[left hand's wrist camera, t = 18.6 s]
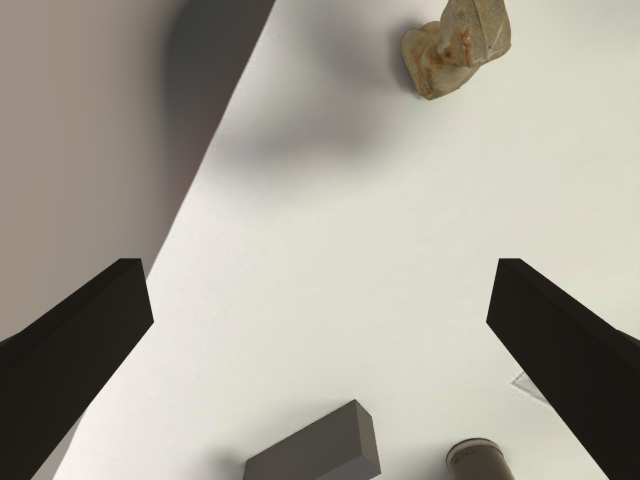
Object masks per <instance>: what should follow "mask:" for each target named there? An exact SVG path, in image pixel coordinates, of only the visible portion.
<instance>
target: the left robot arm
mask: <svg viewBox="0 0 640 480" xmlns="http://www.w3.org/2000/svg"><path fill="white" fill-rule="evenodd" d="M153 323H154V320H153V315H152V310H151V305H150V300H149V295H148V291H147V286H146V281H145V276H144V271H143V266H142V261H141V258H120V259H119V260H117V261H116V262H115V263H113V264H112V265H110V266H109V267H108V268H106V269H105V270H104V271H102V272H101V273H100V274H98V275H97V276H96V277H94V278H93V279H92V280H90V281H89V282H87V283H86V284H85V285H83V286H82V287H81V288H79V289H78V290H77V291H75V292H74V293H73V294H71V295H70V296H68V297H67V298H66V299H64V300H63V301H62V302H60V303H59V304H58V305H56V306H55V307H54V308H52V309H51V310H50V311H48V312H47V313H45V314H44V315H43V316H41V317H40V318H39V319H37V320H36V321H35V322H33V323H32V324H31V325H29V326H28V327H26V328H25V329H24V330H22V331H21V332H19V333H17V334H15V335H13V336H11V337H9V338H7V339H5V340H3V341H1V342H0V480H31V478H32V477H33V476H34V474H35V473H36V472H37V471H38V469H39V468H40V467H41V466H42V464H43V463H44V462H45V460H46V459H47V458H48V457H49V455H50V454H51V453H52V452H53V450H54V449H55V448H56V446H57V445H58V444H59V443H60V441H61V440H62V439H63V438H64V436H65V435H66V434H67V432H68V431H69V430H70V429H71V427H72V426H73V425H74V424H75V422H76V421H77V420H78V418H79V417H80V416H81V415H82V413H83V412H84V411H85V410H86V408H87V407H88V406H89V404H90V403H91V402H92V401H93V399H94V398H95V397H96V396H97V394H98V393H99V392H100V390H101V389H102V388H103V387H104V385H105V384H106V383H107V382H108V380H109V379H110V378H111V376H112V375H113V374H114V373H115V371H116V370H117V369H118V368H119V366H120V365H121V364H122V362H123V361H124V360H125V359H126V357H127V356H128V355H129V353H130V352H131V351H132V350H133V348H134V347H135V346H136V345H137V343H138V342H139V341H140V339H141V338H142V337H143V336H144V334H145V333H146V332H147V331H148V329H149V328H150V327H151V325H152V324H153ZM486 323H487V324H488V325H489V327H490V328H491V329H492V331H493V332H494V333H495V334H496V336H497V337H498V338H499V339H500V341H501V342H502V343H503V345H504V346H505V347H506V348H507V350H508V351H509V352H510V353H511V355H512V356H513V357H514V359H515V360H516V361H517V362H518V364H519V365H520V366H521V368H522V369H523V370H524V371H525V373H526V374H527V375H528V376H529V378H530V379H531V380H532V382H533V383H534V384H535V385H536V387H537V388H538V389H539V390H540V392H541V393H542V394H543V396H544V397H545V398H546V399H547V401H548V402H549V403H550V404H551V406H552V407H553V408H554V410H555V411H556V412H557V413H558V415H559V416H560V417H561V418H562V420H563V421H564V422H565V424H566V425H567V426H568V427H569V429H570V430H571V431H572V432H573V434H574V435H575V436H576V438H577V439H578V440H579V441H580V443H581V444H582V445H583V446H584V448H585V449H586V450H587V452H588V453H589V454H590V455H591V457H592V458H593V459H594V460H595V462H596V463H597V464H598V466H599V467H600V468H601V469H602V471H603V472H604V473H605V474H606V476H607V477H608V478H609V480H640V340H638V339H636V338H634V337H632V336H630V335H628V334H626V333H624V332H622V331H620V330H616V329H615V328H614V327H612V326H611V325H609V324H608V323H607V322H605V321H604V320H603V319H601V318H600V317H599V316H597V315H596V314H595V313H593V312H592V311H591V310H589V309H588V308H586V307H585V306H584V305H582V304H581V303H580V302H578V301H577V300H576V299H574V298H573V297H572V296H570V295H569V294H567V293H566V292H565V291H563V290H562V289H561V288H559V287H558V286H557V285H555V284H554V283H553V282H551V281H550V280H549V279H547V278H546V277H544V276H543V275H542V274H540V273H539V272H538V271H536V270H535V269H534V268H532V267H531V266H530V265H528V264H527V263H525V262H524V261H523V260H521V259H520V258H499V261H498V266H497V271H496V276H495V281H494V286H493V291H492V295H491V300H490V305H489V310H488V315H487V320H486Z"/></svg>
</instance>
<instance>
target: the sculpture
mask: <svg viewBox="0 0 640 480" xmlns="http://www.w3.org/2000/svg"><path fill="white" fill-rule="evenodd" d="M510 47H511V28H510V22H509V18H508V15H507V11H506V8H505V4H504V0H449V1H448V3H447V6H446V8H445V9H444V11H443V13H442V15H441V20H440V21H433V22H429V23H427V24H426V25H424V26H423V28H422V30H421V31H420V30H417V29H412V30H410V31H408V32H406V33H405V35H404V36H403V38H402V41H401V51H402V55H403V58H404V61H405V64H406V66H407V69H408V71H409V73H410V75H411V77H412V79H413V81H414V84H415V87H416V91H417V92H418V94H419V95H423V96H424V97H425V99H427V100H433V99H436V98H439V97H442V96H444V95H446V94H449V93H451V92H453V91H455V90H457V89H459V88H460V87H461V86H462V85H463V84H465V83H466V82H467V81H468V80H469V79H470V78H471V77H472V76H473V75H474V74H475V72H476V71H477V70H478V69H479V68H480V66H482V65H484V64H486V63H487V62H490V61H492V60H494V59H497V58H499V57H501V56H503V55H504V54H505V53H506V52H507V51H508V50H509V49H510Z"/></svg>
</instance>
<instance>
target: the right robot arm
mask: <svg viewBox="0 0 640 480" xmlns="http://www.w3.org/2000/svg"><path fill="white" fill-rule="evenodd" d="M447 466H448V468H449V471H450V473H451V475H452V478H453V480H515V478H514V476H513V475H512V473H511V471H510V469H509V467H508V465H507V463H506V461H505V459H504V457H503V454H502V452H501V450H500V449H499V447H498V446H497V445H496V444H494V443H493V442H491V441H488V440H483V439H474V440H469V441H465V442H463V443H460V444H459V445H457V446H456V447H454V448H453V449H452V450H451V451H450V453H449V454H448V457H447Z"/></svg>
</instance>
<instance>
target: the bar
mask: <svg viewBox="0 0 640 480" xmlns="http://www.w3.org/2000/svg"><path fill="white" fill-rule="evenodd" d="M380 474H381V469H380V463H379V457H378V451H377V445H376V439H375V433H374V427H373V421H372V417H371V416H370V415H369V414H368V413H367V411H366V410H365V409H364V408H363V407H362V406H361V405H360V404H359V403H358V402H357V401H356V400H354V401H352V402H350V403H348V404H346V405H345V406H343V407H341V408H339V409H338V410H336V411H334V412H332V413H331V414H329V415H327V416H325V417H323V418H322V419H320V420H318V421H316V422H315V423H313V424H311V425H309V426H308V427H306V428H304V429H302V430H300V431H299V432H297V433H295V434H293V435H292V436H290V437H288V438H286V439H284V440H283V441H281V442H279V443H277V444H276V445H274V446H272V447H270V448H269V449H267V450H265V451H263V452H261V453H260V454H258V455H256V456H254V457H253V458H251V459H249V460H247V462H246V467H245V472H244V476H243V480H369V479H371V478H374V477H376V476H378V475H380Z"/></svg>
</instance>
